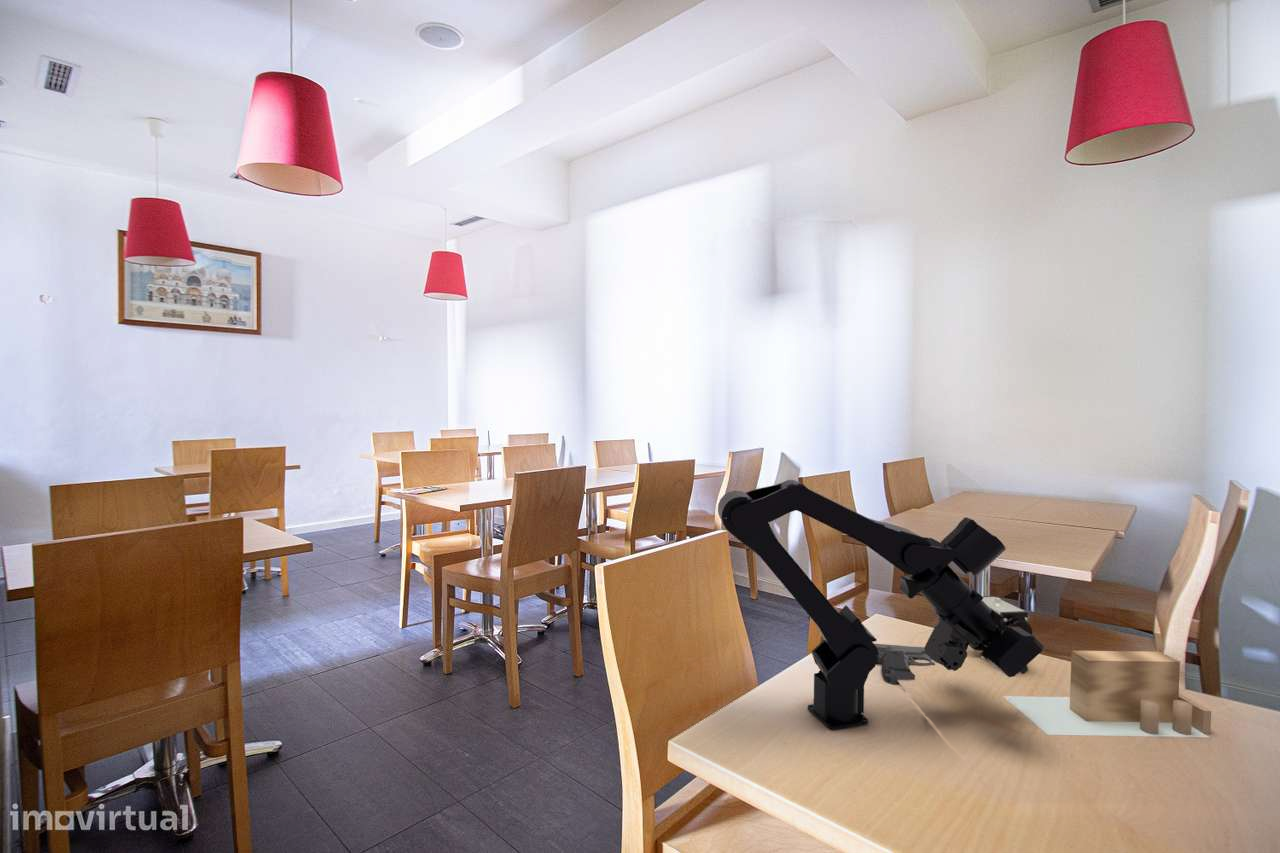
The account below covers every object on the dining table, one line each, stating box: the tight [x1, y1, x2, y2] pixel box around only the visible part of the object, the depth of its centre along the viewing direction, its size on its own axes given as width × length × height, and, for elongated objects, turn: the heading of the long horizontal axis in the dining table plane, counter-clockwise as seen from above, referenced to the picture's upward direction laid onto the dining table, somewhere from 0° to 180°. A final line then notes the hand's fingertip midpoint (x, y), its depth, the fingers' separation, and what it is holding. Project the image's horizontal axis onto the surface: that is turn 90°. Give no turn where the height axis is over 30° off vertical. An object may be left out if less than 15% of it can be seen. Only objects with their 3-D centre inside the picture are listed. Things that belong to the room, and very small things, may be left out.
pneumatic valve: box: [981, 595, 1033, 659], centre depth 109 cm, size 6×12×12 cm, turn 6°
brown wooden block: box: [1069, 650, 1181, 723], centre depth 90 cm, size 13×4×9 cm, turn 88°
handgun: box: [874, 643, 936, 685], centre depth 107 cm, size 3×16×12 cm
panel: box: [1002, 692, 1212, 739], centre depth 90 cm, size 23×11×5 cm, turn 88°
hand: (1024, 671), depth 90 cm, fingers closed
